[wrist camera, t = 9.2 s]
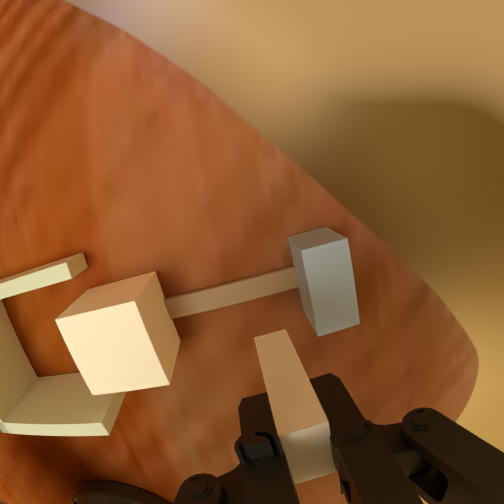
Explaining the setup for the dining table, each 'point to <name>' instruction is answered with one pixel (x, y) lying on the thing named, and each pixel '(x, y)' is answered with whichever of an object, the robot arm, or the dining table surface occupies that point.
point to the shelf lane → (49, 387)
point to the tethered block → (165, 309)
